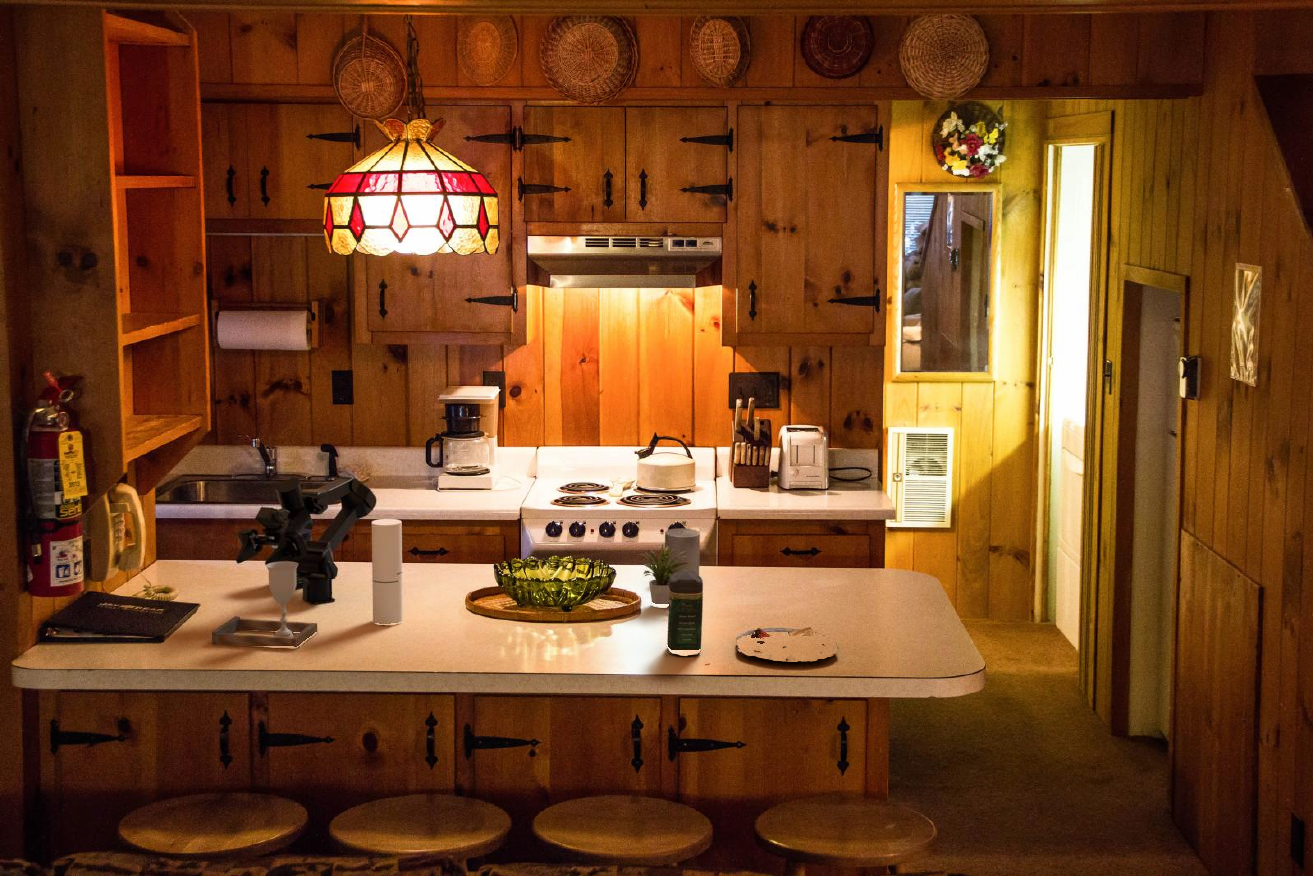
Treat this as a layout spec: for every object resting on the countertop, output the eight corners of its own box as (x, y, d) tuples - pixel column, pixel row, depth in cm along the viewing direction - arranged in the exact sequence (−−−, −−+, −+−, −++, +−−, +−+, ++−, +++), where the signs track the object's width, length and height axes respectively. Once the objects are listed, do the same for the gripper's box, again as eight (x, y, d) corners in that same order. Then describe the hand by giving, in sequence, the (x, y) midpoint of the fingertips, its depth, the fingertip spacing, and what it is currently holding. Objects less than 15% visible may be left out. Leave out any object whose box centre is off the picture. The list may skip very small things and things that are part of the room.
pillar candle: (666, 575, 407) (667, 523, 405) (701, 577, 406) (702, 524, 403) (661, 584, 398) (662, 531, 395) (697, 586, 396) (698, 532, 394)
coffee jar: (702, 658, 334) (704, 579, 331) (668, 657, 333) (670, 578, 330) (699, 645, 343) (701, 568, 340) (666, 645, 343) (667, 568, 340)
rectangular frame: (317, 633, 347) (317, 621, 346) (296, 649, 334) (296, 637, 333) (235, 628, 349) (235, 616, 349) (212, 644, 337) (211, 631, 336)
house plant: (657, 617, 365) (658, 554, 363) (621, 605, 375) (622, 543, 373) (698, 608, 374) (700, 546, 372) (663, 597, 385) (664, 536, 382)
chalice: (271, 645, 336) (269, 569, 334) (264, 637, 342) (263, 563, 339) (303, 642, 340) (301, 566, 337) (296, 634, 346) (294, 560, 343)
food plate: (735, 633, 353) (735, 619, 352) (831, 637, 352) (832, 623, 351) (737, 669, 328) (738, 654, 327) (841, 673, 327) (842, 658, 327)
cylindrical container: (408, 620, 359) (407, 520, 355) (391, 627, 352) (390, 526, 349) (384, 616, 362) (383, 517, 358) (366, 623, 355) (365, 523, 351)
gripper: (249, 496, 361) (209, 533, 349) (307, 500, 352) (268, 538, 340) (266, 533, 366) (227, 571, 355) (323, 537, 357) (285, 576, 346)
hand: (251, 563), depth 349 cm, fingers open, 9 cm apart
